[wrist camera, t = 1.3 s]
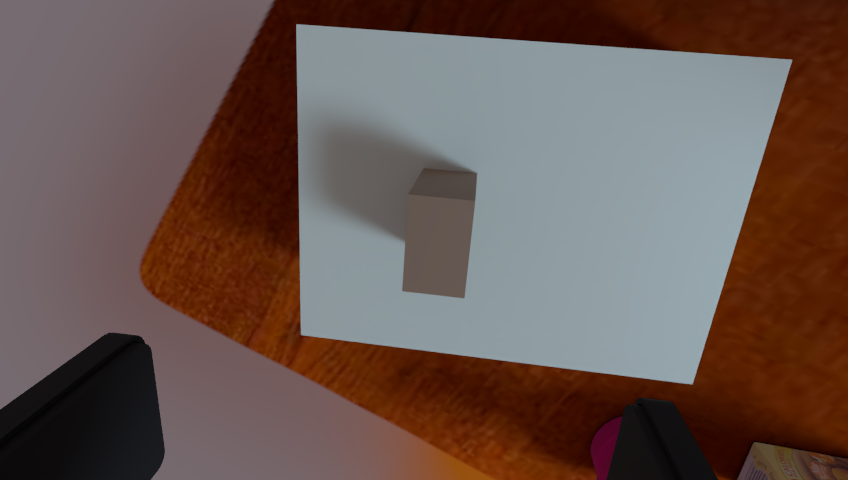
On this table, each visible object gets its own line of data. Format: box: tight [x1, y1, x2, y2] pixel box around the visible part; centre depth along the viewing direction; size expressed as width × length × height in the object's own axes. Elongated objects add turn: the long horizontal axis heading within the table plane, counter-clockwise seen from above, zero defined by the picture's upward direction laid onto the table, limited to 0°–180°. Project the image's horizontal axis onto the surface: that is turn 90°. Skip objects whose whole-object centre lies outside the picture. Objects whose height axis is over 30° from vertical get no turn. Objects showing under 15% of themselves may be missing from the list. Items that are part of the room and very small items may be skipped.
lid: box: [296, 24, 792, 384], centre depth 21 cm, size 21×16×6 cm
